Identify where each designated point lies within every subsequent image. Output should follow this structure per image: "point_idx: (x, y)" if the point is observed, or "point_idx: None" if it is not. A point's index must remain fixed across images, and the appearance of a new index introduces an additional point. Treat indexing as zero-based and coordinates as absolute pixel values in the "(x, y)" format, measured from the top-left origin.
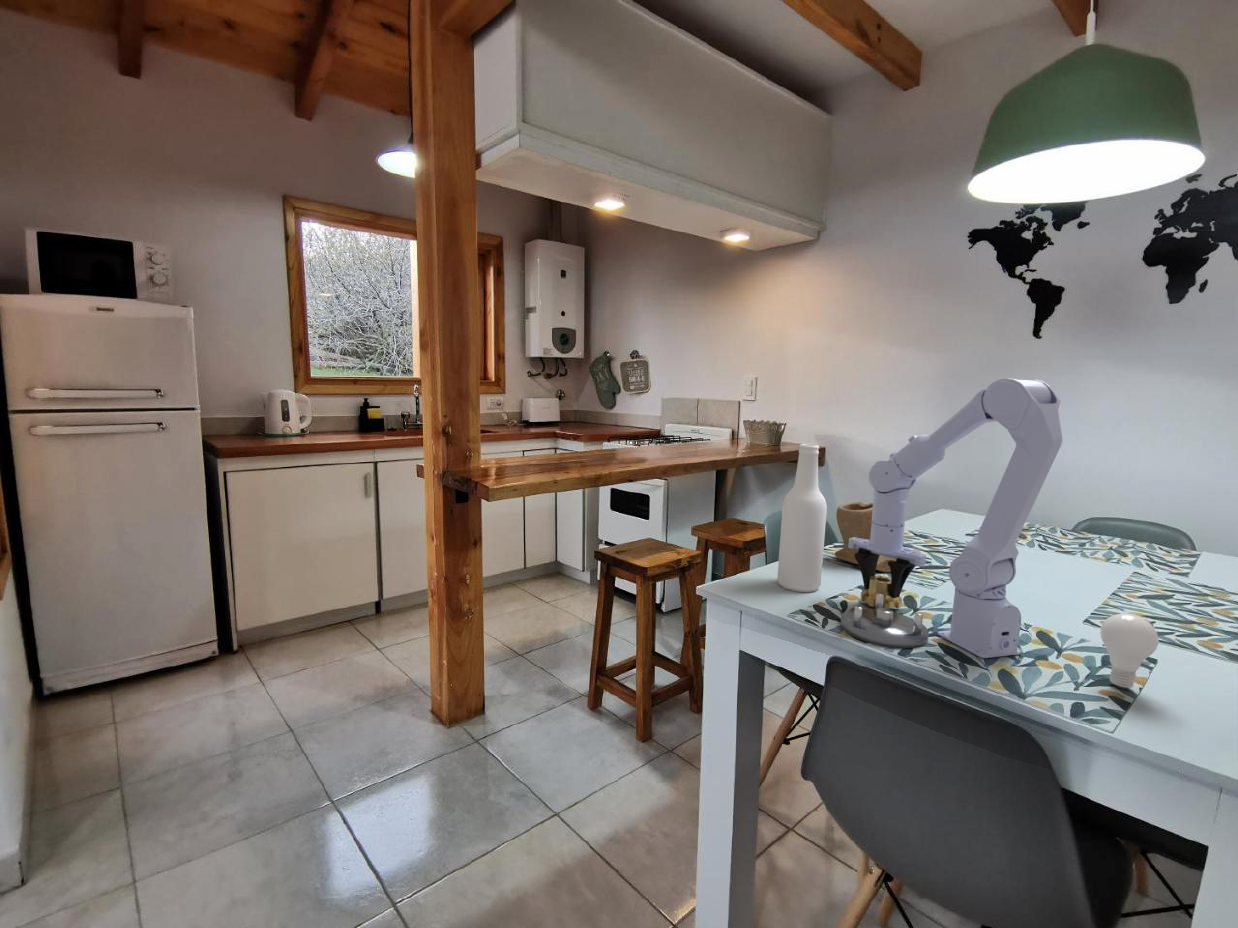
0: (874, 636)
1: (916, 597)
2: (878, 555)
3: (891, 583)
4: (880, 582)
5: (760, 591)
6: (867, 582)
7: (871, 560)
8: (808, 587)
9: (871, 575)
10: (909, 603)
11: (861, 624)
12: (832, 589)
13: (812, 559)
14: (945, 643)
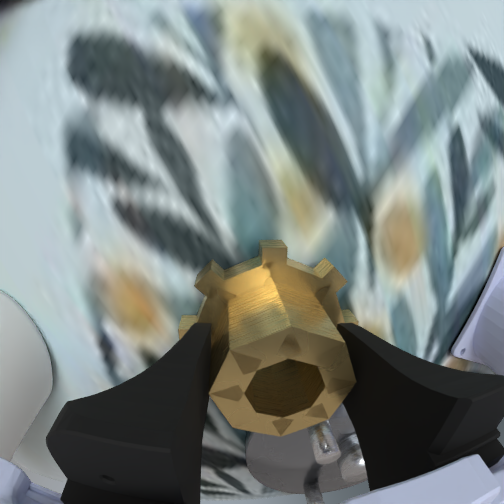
0: (354, 483)
1: (298, 54)
2: (179, 437)
3: (352, 420)
4: (297, 428)
5: (32, 433)
6: (208, 392)
7: (193, 474)
8: (50, 390)
9: (202, 385)
10: (318, 154)
11: (313, 476)
12: (49, 283)
13: (7, 453)
14: (460, 369)
